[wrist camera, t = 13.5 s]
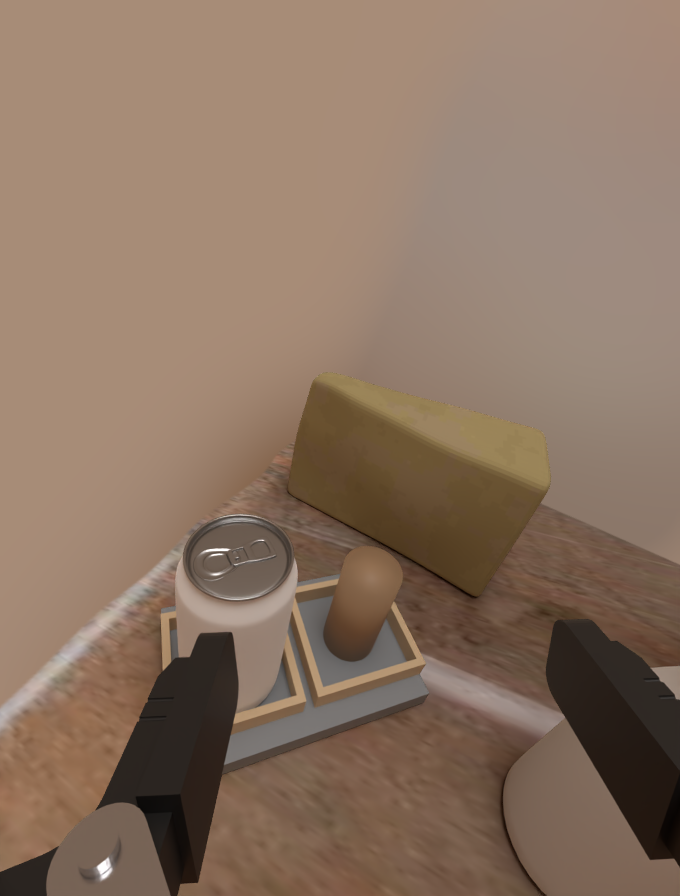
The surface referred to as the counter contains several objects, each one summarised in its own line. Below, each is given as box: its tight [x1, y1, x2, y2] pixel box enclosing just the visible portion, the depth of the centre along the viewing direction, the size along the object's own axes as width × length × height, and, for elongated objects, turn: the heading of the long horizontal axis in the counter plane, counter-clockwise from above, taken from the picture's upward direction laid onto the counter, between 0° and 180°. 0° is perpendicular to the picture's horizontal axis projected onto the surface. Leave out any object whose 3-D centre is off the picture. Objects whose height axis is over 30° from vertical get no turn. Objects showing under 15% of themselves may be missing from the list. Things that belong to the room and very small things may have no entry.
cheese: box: [288, 372, 551, 596], centre depth 40 cm, size 22×10×15 cm, turn 70°
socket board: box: [161, 546, 429, 774], centre depth 28 cm, size 17×11×10 cm, turn 111°
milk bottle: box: [503, 666, 680, 896], centre depth 20 cm, size 8×8×20 cm
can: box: [175, 514, 298, 714], centre depth 25 cm, size 6×6×12 cm
